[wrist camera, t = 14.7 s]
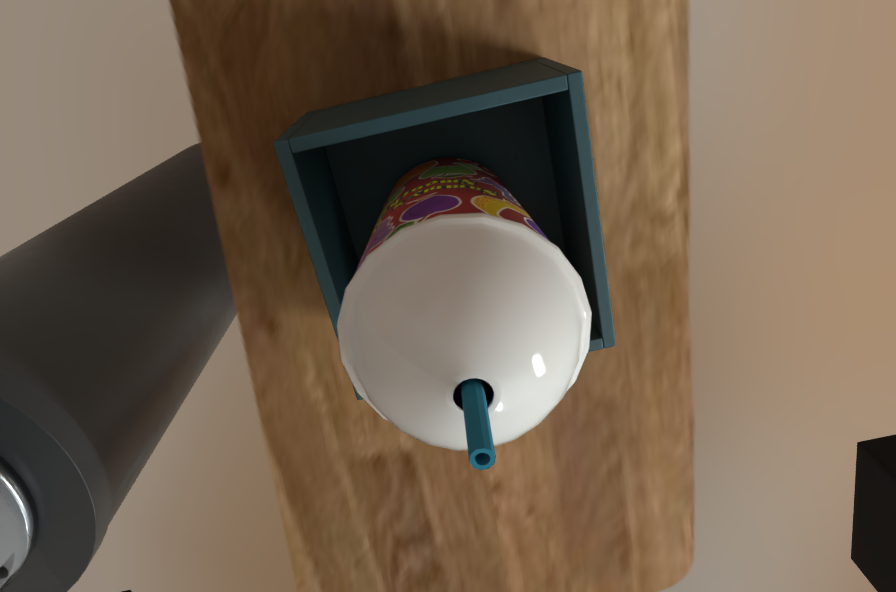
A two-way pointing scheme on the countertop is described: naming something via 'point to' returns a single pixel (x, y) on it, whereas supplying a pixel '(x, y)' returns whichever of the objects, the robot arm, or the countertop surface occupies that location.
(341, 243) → the dark teal open box
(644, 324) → the countertop surface
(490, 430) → the smoothie
